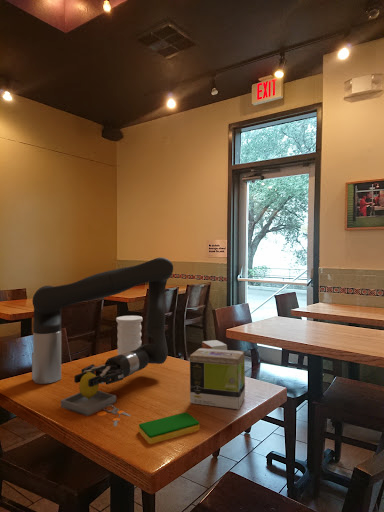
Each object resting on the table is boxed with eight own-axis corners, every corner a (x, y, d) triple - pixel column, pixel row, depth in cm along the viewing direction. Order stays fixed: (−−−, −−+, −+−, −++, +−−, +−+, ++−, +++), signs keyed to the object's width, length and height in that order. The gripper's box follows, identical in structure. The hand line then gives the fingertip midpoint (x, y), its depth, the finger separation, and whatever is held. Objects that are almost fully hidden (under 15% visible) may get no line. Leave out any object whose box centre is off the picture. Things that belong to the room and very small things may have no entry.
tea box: (245, 397, 113) (245, 350, 113) (238, 411, 104) (238, 359, 104) (199, 391, 118) (199, 346, 118) (189, 403, 109) (189, 354, 108)
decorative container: (111, 364, 148) (111, 319, 148) (121, 356, 159) (121, 315, 159) (138, 365, 146) (138, 320, 146) (146, 357, 157) (146, 315, 157)
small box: (201, 377, 132) (201, 341, 132) (217, 374, 135) (217, 339, 135) (211, 384, 125) (211, 346, 125) (227, 381, 127) (227, 344, 127)
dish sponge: (138, 433, 92) (138, 423, 92) (186, 420, 99) (186, 411, 99) (149, 446, 85) (149, 435, 85) (200, 431, 92) (200, 422, 92)
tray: (60, 407, 106) (60, 400, 106) (90, 394, 116) (90, 388, 116) (87, 416, 100) (87, 408, 100) (116, 402, 110) (116, 395, 110)
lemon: (101, 395, 110) (101, 369, 110) (94, 403, 105) (94, 375, 105) (83, 395, 111) (83, 368, 111) (76, 402, 105) (76, 375, 105)
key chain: (91, 412, 104) (91, 409, 104) (114, 405, 108) (114, 402, 108) (113, 428, 94) (113, 425, 94) (137, 420, 99) (137, 416, 99)
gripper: (106, 351, 124) (65, 364, 109) (139, 357, 116) (99, 372, 102) (106, 373, 124) (65, 389, 110) (139, 381, 116) (99, 399, 102)
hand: (82, 381), depth 106 cm, fingers closed on lemon, 5 cm apart
